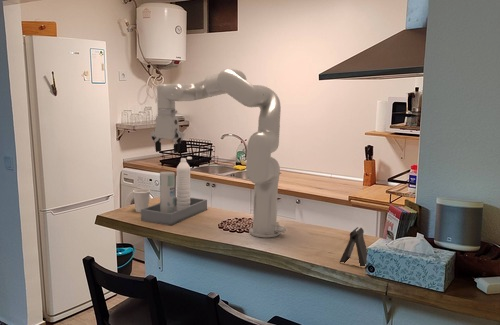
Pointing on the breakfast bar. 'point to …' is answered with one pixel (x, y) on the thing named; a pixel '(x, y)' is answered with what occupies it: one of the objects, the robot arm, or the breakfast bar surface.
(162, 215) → the tray
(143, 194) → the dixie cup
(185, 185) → the water bottle
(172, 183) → the spray can
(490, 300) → the breakfast bar surface
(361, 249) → the phone stand
